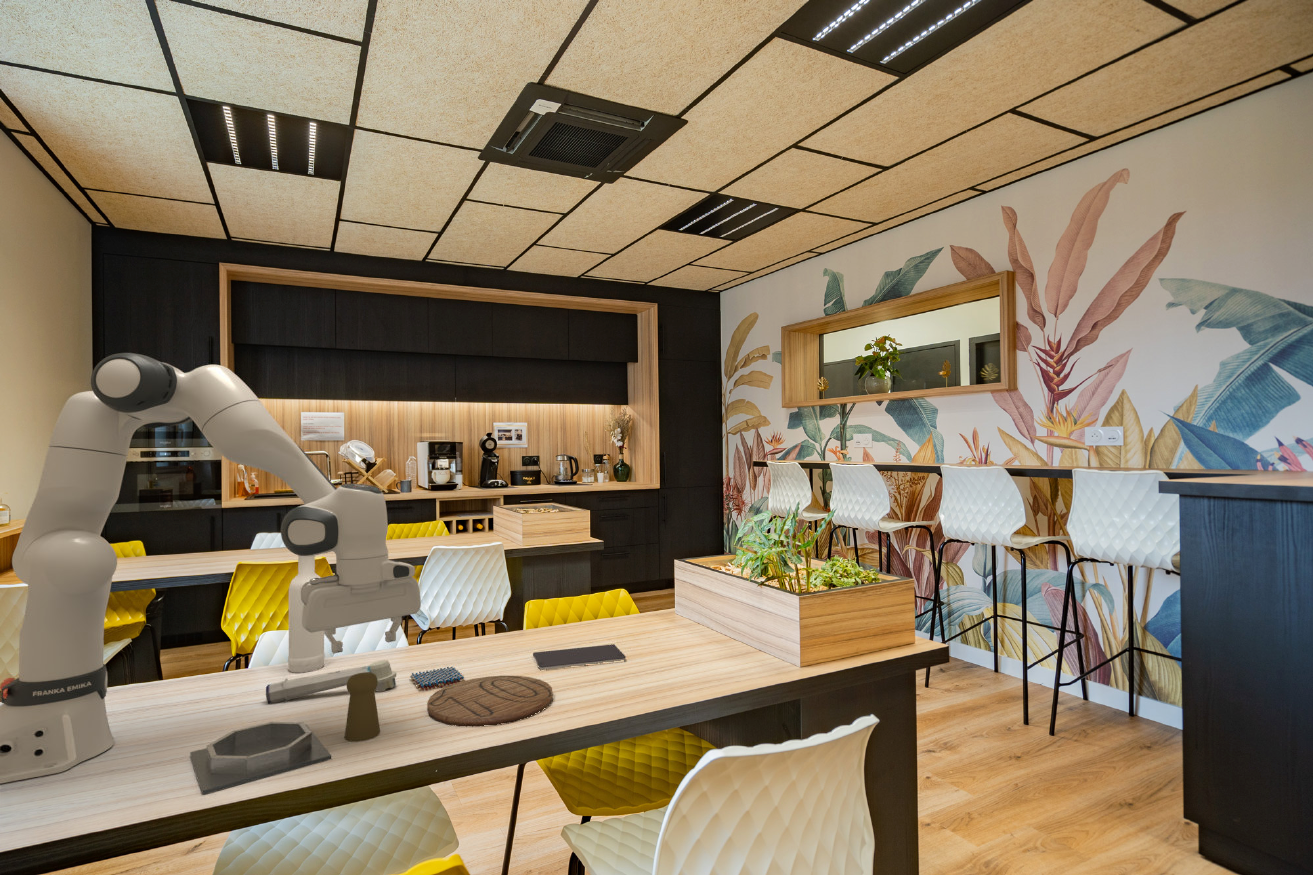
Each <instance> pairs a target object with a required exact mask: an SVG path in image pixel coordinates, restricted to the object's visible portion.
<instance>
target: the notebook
mask: <svg viewBox="0 0 1313 875" xmlns="http://www.w3.org/2000/svg"><path fill="white" fill-rule="evenodd" d="M532 656H534V657H535V658H534V659H536V660H535V662H536V664H537V667H538V666H539V667H538V669H539V668H540V669H541V670H545V669H555V670H559V669H558V668H564V669H566V668H565V667H571V666H582V667H584V666H583V665H586V664H598V663H603V662H614V661H621V660H625V661H626V655H625V654H624V653H623V652H622V651H621V649H619V648H618V647H617V646H616V644H615V643H611V644H602V645H594V646H586V647H583V646H582V647H575V648H565V649H553V650H546V651H544V650H543V651H535V652H533V653H532ZM540 669H539V670H540ZM541 670H540V671H541Z"/></svg>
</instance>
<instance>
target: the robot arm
mask: <svg viewBox="0 0 1313 875" xmlns="http://www.w3.org/2000/svg"><path fill="white" fill-rule="evenodd" d="M90 386H91V389H92V390H88V391H87V390H86V391H81V392H77V393H75V394H73V395H71V396H70V397H69V398H68V399H67V400H66V401H65V404H64V406H63V407H62V408H61V409H62V410H61V412H59V415H58V418H57V419H56V422H55V425H54V427H53V430H52V434H51V436H50V439H49V443H48V447H47V451H46V455H45V459H44V463H43V467H42V471H41V476H40V478H39V483H38V487H37V490H36V493H35V497H34V500H33V502H32V504H31V506H30V509H29V511H28V514H27V516H26V518H25V521H24V523H23V526H22V529H21V531H20V534H19V538H18V541H17V544H16V547H15V549H14V551H13V554H12V558H11V559H12V560H11V563H12V564H11V566H12V569H13V572H14V574H15V576H16V577H17V578H18V579H19V580H20V581H22V583H24V584H26V585H27V586H28V587H27V599H26V605H25V609H24V610H25V611H24V616H23V621H22V625H21V628H20V629H19V636H18V637H19V639H18V641H19V643H18V645H19V646H18V677H17V678H16V679H15V677H7V678H5V679H3V681H2V682H1V684H0V691H1V692H0V693H1V694H0V696H1V698H0V699H1V705H0V784H6V783H10V782H15V781H20V780H26V779H27V780H28V779H31V778H37V777H42V776H48V775H53V774H59V773H62V772H65V771H67V770H69V769H71V768H73V767H74V766H76V765H78V764H80V763H81V762H84V761H86V760H90V759H92V758H93V757H96V756H99V755H100V754H102V753H104V752H105V751H107V750H109V749H110V748H111V747H112V746H114V744H115V739H114V737H113V734H112V730H111V728H110V724H109V719H108V715H107V709H106V708H107V707H106V701H105V697H106V696H107V692H108V671H107V665H106V664H105V663H104V652H105V651H104V646H105V645H104V644H105V643H104V642H105V640H104V637H105V619H106V611H107V608H108V603H109V599H110V594H111V588H112V582H113V576H114V574H115V572H116V570H117V567H118V556H117V554H116V551H115V550H114V548H113V546H112V545H111V543H109V542H108V541H107V540H106V539H105V538H104V537H102V536H101V534H102V532H103V529H104V526H105V525H106V522H107V519H108V518H109V516H110V513H111V512H112V511H111V510H112V509H113V507H114V506H115V504H116V503H117V501H118V499H119V497H120V496H119V495H120V491H121V488H122V483H123V477H124V474H125V469H126V464H127V459H128V455H129V450H130V446H131V441H132V438H133V435H134V434H135V432H136V430H138V429H139V428H141V427H142V426H143V427H145V428H147V429H150V430H151V429H152V430H153V429H157V428H158V429H159V428H163V427H170V426H179V425H183V424H187V423H190V422H192V421H193V422H194V424H195V425H196V426H197V428H198V429H199V430H200V432H201V433H202V435H203V436H204V437H205V439H206V440H207V441H208V443H209V444H210V446H211V447H213V449H215V450H216V452H218V453H219V454H220V455H221V456H222V457H224V458H225V459H226V460H227V461H229V462H232V463H235V464H238V465H241V466H246V467H250V468H255V469H258V470H261V471H264V472H267V473H270V474H272V475H273V476H276V477H278V478H279V479H280V480H282V481H283V482H284V483H286V485H287V486H288V487H289V488H290V489H291V490H292V491H293V492H294V493H295V494H296V496H298V498H299V499H300V500H301V501H302V503H303V504H302V505H300V506H297V507H295V508H292V509H291V510H290V511H288V513H286V515H285V516H284V518H283V520H282V522H281V527H280V535H281V536H280V537H281V539H282V543H283V545H284V546H285V547H286V549H287V550H289V552H291V553H292V554H294V555H297V556H298V555H300V556H315V557H316V556H319V555H323V554H328V553H334V554H335V557H336V558H335V559H336V560H335V561H336V563H335V565H336V569H335V570H336V574H334V575H328V576H324V577H321V578H313V579H310V581H308V582H306V583H305V584H304V585H303V586H302V589H301V600H302V602H303V603H304V605H303V613H302V626H303V628H304V629H306V630H307V631H309V632H311V633H312V632H318V631H324V636H325V637H326V638H327V640H328V641H329V642H330V645H331V649H330V650H331V652H332V653H333V654H339V653H342V652H343V651H344V650H343V646H344V644H343V642H342V641H341V640H337V639H335V637H334V636H335V635H336V634H337V629H338V628H346V627H351V626H355V625H361V624H367V623H371V622H377V621H384V620H389V619H390V622H392V624H391V626H390V628H389V630H386V631H384V640H385V642H387V643H392V642H396V641H397V632H398V630H399V628H400V626H401V624H402V623H403V618H402V617H405V616H411V615H415V614H418V612H420V609H421V608H422V607H421V606H422V602H421V591H420V586H419V585H420V584H419V583H418V581H417V579H416V578H414V575H415V574H416V568H415V566H414V565H412V564H410V563H407V562H402V561H399V560H395V559H389V550H388V547H387V546H388V545H387V544H386V542H387V535H388V532H389V530H388V528H389V527H388V526H389V525H388V512H387V511H388V510H387V505H386V504H387V503H386V499H385V496H384V492H383V491H382V490H381V489H379V488H378V487H377V486H374V485H368V484H363V483H359V484H358V483H345V484H340V485H339V486H337V487H336V485H334V483H333V482H332V481H331V480H330V479H329V478H328V477H327V475H326V474H325V473H324V472H323V471H322V470H321V469H320V467H319V466H318V465H317V464H316V463H315V462H314V461H313V459H311V457H310V456H309V455H308V454H307V453H306V452H305V451H304V450H303V449H302V448H301V447H300V446H299V445H298V444H297V443H296V442H295V440H293V438H291V437H290V436H289V434H287V432H286V431H285V430H284V429H283V428H282V426H280V425H279V423H278V422H277V421H276V420H275V417H273V415H272V414H271V413H270V411H268V409H267V408H266V407H265V405H264V404H263V403H262V401H261V400H260V399H259V397H258V396H257V395H256V394H255V392H253V390H252V389H251V388H250V387H249V386H248V385H247V384H246V383H245V382H244V381H243V380H242V379H241V378H240V377H239V376H238V375H237V374H235V372H233V371H232V370H231V369H230V368H228V367H226V366H224V365H219V364H207V365H202V366H199V367H196V368H194V369H192V370H190V371H188V372H183V371H182V370H180V369H179V368H177V367H175V366H173V365H171V364H169V363H166V362H162V361H159V360H158V359H155V358H153V357H150V356H147V355H144V354H139V353H133V352H120V353H114V354H111V355H108V356H106V357H105V358H104V357H103V359H101V360H100V361H99V362H98V363H97V364H96V365H95V367H94V369H93V370H92V372H91V376H90ZM309 583H310V584H311V585H307V584H309ZM319 583H320V584H319Z"/></svg>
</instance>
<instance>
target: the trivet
mask: <svg viewBox="0 0 1313 875" xmlns="http://www.w3.org/2000/svg"><path fill="white" fill-rule="evenodd" d="M465 680H466V679H465ZM551 701H552V702H553V687H552V686H551V685H550V684H549V683H548V682H546V681H544V680H541V679H539V678H534V677H531V676H524V675H523V676H522V675H492V676H484V677H478V678H471V679H467V680H466V681H462V682H458V683H455V684H454V683H453V684H452V685H449V686H446V687H441V688H440V689H439V690H436V691H435V692H434V693H433V694H432V695H430V697H428V700H427V702H426V705H427V706H426V710H427V714H428V716H429V718H431V719H432V720H433V721H435V722H438V723H441V724H444V725H449V726H453V725H454V727H460V726H466V728H467V726H472V728H474V727H473V726H482V727H485V726H484V725H494V726H498V725H497V724H500V725H502V724H501V723H506V724H510V723H509V722H511V723H515V722H519V721H521V720H520V719H522V720H525V719H524V718H526V719H528V718H527V717H529V718H530V716H531V715H533V716H535V715H536V714H535V713H538V712H539V711H541V712H543V711H544V710H545V709H544V708H546V707H547V706H548V707H550V705H551V704H552V702H551ZM549 704H550V705H549ZM548 707H547V708H548ZM547 708H546V709H547ZM543 709H544V710H543ZM542 710H543V711H542ZM534 714H535V715H534ZM538 714H539V713H538ZM531 717H532V716H531ZM518 720H519V721H518ZM514 721H515V722H514ZM455 725H456V726H455Z"/></svg>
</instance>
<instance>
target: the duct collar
mask: <svg viewBox="0 0 1313 875" xmlns="http://www.w3.org/2000/svg"><path fill="white" fill-rule="evenodd" d="M189 757H190V760H191V764H192V767H193V770H194V772H195V775H196V778H197V782H198V784H199V787H200V791H201V794H202V796H204V795H208V794H211V793H214V792H219V791H222V790H225V789H229V788H232V787H236V786H240V785H243V784H246V783H251V782H255V781H258V780H262V779H264V778H268V777H271V776H276V775H279V774H283V773H286V772H290V771H294V770H297V769H299V768H304V767H307V766H311V765H314V764H315V765H316V764H318V763H322V762H326V761H329V760H332V754H331V753H330V752H329V750H328V749H327V748H326V747H325V745H324V744H323V743H322V742H321V740H320V739H318V737H317V736H316V734H315V733H314V732H313V731H312V730H311V728H310V727H309V726H308V725H307V724H306V723H305V722H303V721H301V722H300V721H269V722H264V723H261V724H256V725H253V726H248V727H244V728H240V729H236V730H232V731H230V732H228V733H226V734H225V735H222V736H221V737H219V738H218V739H215V740H214V741H212V742H210V743H208V744H207V745H206V747H205V748H202V749H198V750H193V751H190V752H189Z"/></svg>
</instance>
